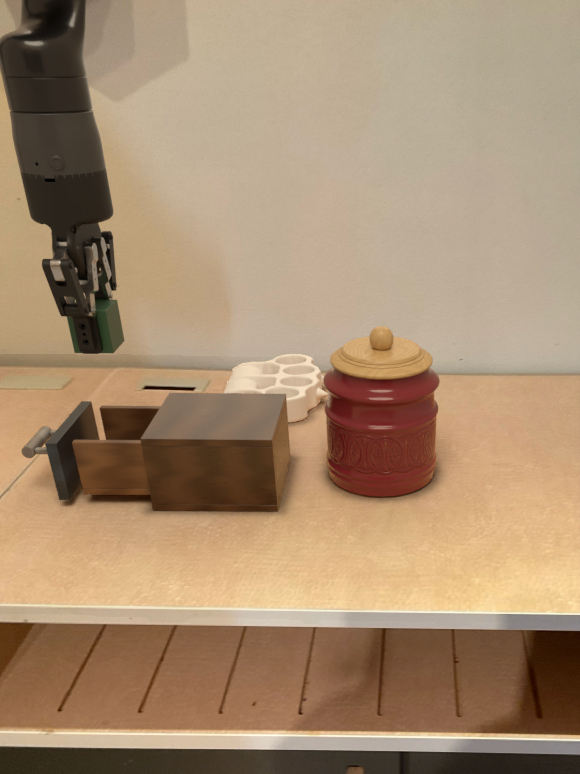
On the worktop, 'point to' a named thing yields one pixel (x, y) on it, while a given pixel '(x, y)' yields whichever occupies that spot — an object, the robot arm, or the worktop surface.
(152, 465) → the cabinet
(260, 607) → the worktop surface
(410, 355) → the kitchen canister
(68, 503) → the worktop surface
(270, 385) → the white egg tray
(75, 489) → the drawer
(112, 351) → the block
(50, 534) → the worktop surface
